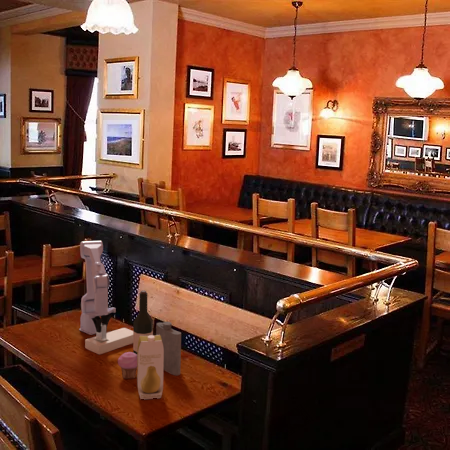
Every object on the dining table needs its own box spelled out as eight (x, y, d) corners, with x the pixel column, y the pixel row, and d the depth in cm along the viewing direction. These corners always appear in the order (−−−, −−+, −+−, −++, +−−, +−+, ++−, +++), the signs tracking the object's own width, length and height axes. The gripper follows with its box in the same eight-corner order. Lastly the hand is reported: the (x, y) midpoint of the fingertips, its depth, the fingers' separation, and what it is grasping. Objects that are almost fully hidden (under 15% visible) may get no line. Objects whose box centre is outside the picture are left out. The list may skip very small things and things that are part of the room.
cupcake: (118, 382, 236) (118, 358, 234) (117, 372, 244) (117, 349, 242) (141, 380, 238) (141, 356, 236) (139, 371, 246) (139, 348, 244)
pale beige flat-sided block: (85, 348, 268) (85, 339, 267) (124, 335, 284) (124, 327, 283) (99, 354, 261) (99, 345, 261) (138, 341, 278) (138, 333, 277)
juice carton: (138, 401, 221) (138, 339, 216) (136, 391, 228) (136, 331, 224) (163, 399, 223) (164, 338, 218) (161, 389, 230) (161, 330, 226)
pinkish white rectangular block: (96, 338, 268) (96, 323, 267) (100, 337, 270) (100, 322, 268) (101, 341, 265) (101, 325, 264) (106, 339, 267) (106, 324, 266)
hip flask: (181, 374, 245) (182, 327, 241) (173, 376, 242) (174, 329, 239) (160, 361, 257) (161, 316, 253) (152, 363, 254) (153, 318, 251)
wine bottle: (129, 359, 257) (129, 291, 252) (140, 352, 265) (141, 287, 259) (145, 363, 254) (145, 295, 248) (156, 356, 261) (157, 290, 255)
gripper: (93, 307, 256) (93, 337, 259) (120, 300, 267) (120, 329, 270) (83, 303, 261) (83, 333, 263) (110, 296, 272) (110, 325, 274)
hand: (101, 331), depth 267 cm, fingers closed on pinkish white rectangular block, 2 cm apart
